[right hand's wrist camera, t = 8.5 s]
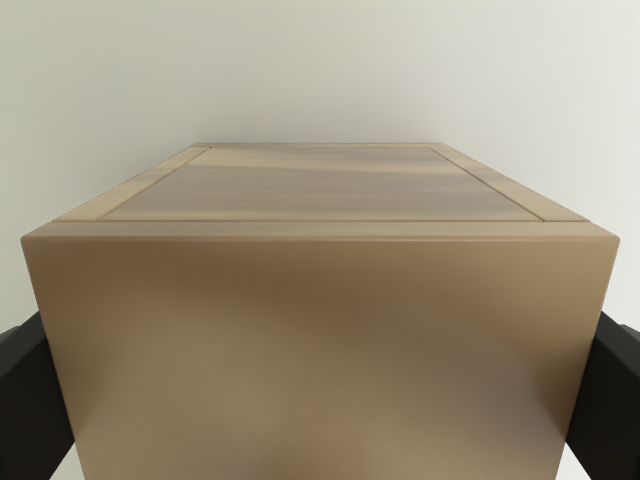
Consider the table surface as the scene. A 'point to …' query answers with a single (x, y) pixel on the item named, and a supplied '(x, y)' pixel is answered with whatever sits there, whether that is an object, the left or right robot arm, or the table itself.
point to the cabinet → (320, 317)
